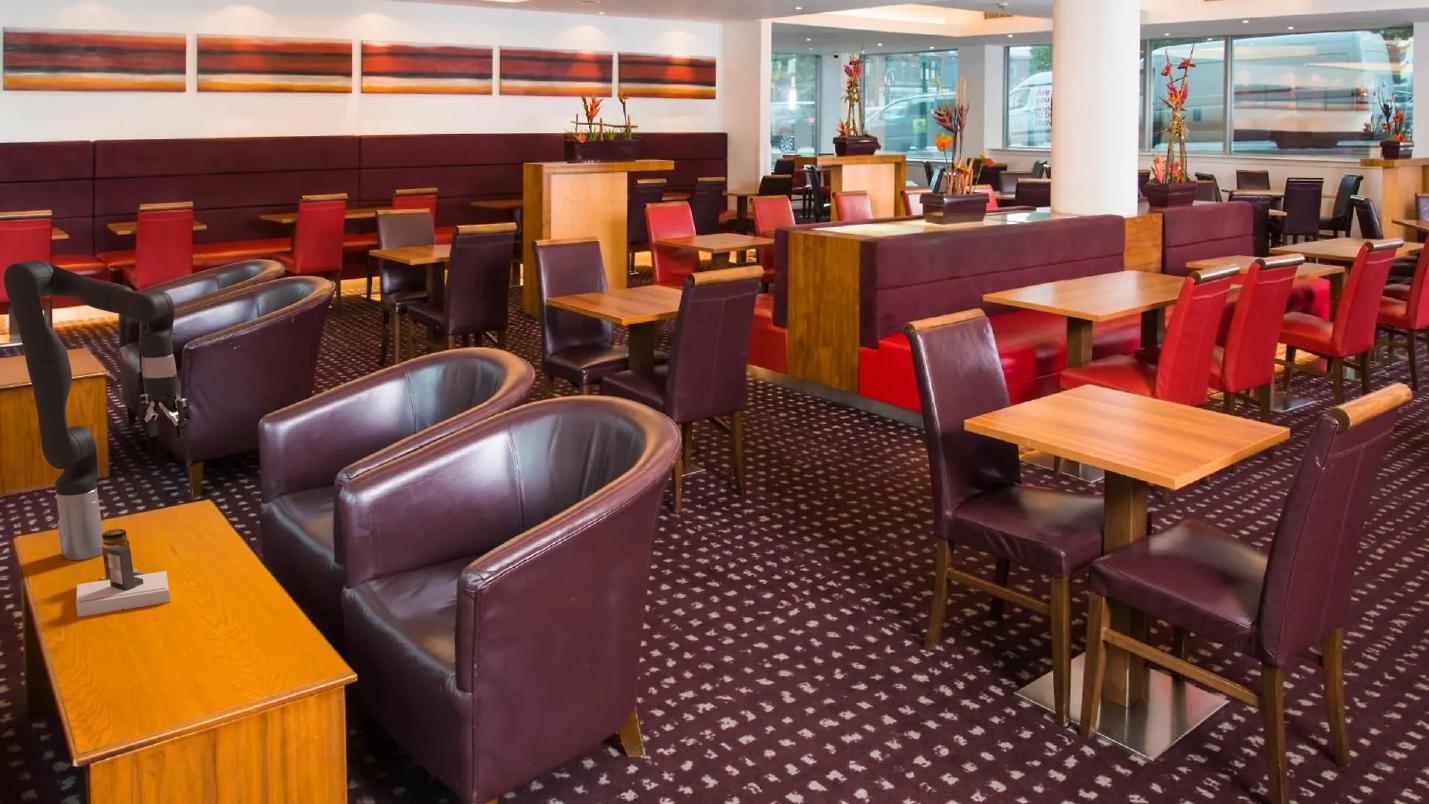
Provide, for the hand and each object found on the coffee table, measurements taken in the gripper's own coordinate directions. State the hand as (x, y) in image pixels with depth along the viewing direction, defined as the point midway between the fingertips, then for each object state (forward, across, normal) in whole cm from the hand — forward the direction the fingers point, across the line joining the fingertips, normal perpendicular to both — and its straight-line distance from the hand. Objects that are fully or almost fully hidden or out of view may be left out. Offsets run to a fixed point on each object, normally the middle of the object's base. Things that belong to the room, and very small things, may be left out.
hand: (166, 437), depth 297 cm
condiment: (+32, -4, -14) cm, 36 cm away
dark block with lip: (+29, +7, -23) cm, 38 cm away
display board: (+32, +7, -24) cm, 41 cm away
